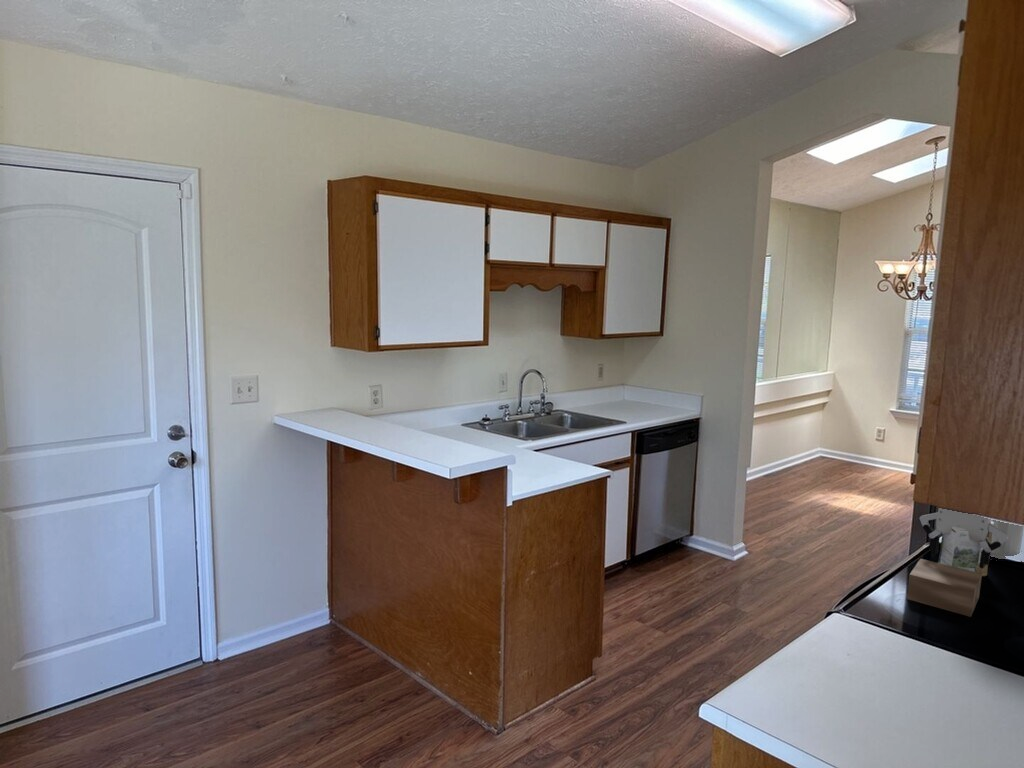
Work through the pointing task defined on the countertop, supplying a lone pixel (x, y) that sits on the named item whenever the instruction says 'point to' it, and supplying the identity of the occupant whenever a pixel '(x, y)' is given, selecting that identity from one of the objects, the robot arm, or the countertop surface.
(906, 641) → the countertop surface
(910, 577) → the walnut block
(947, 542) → the syrup box
